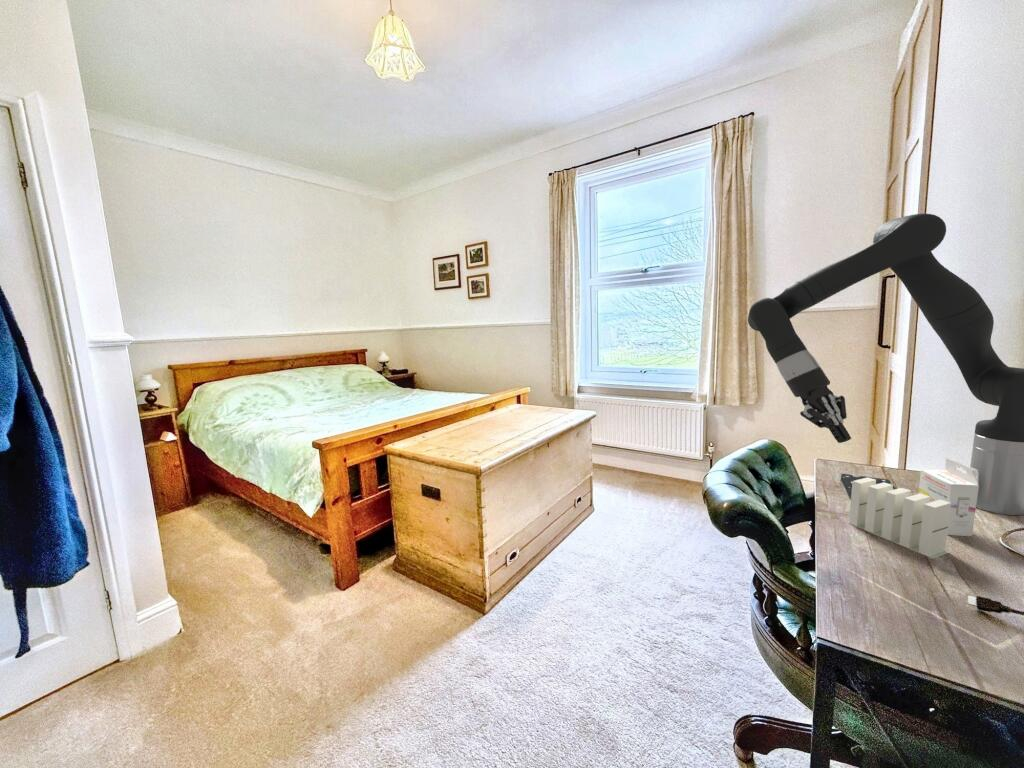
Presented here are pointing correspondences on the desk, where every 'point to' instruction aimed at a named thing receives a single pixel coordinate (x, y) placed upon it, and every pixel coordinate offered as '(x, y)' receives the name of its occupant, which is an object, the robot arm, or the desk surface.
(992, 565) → the desk surface
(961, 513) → the ink cartridge box
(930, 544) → the domino
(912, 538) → the domino
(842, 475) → the disk drive
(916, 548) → the felt strip
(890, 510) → the domino
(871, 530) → the domino
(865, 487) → the domino
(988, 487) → the robot arm
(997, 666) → the desk surface
